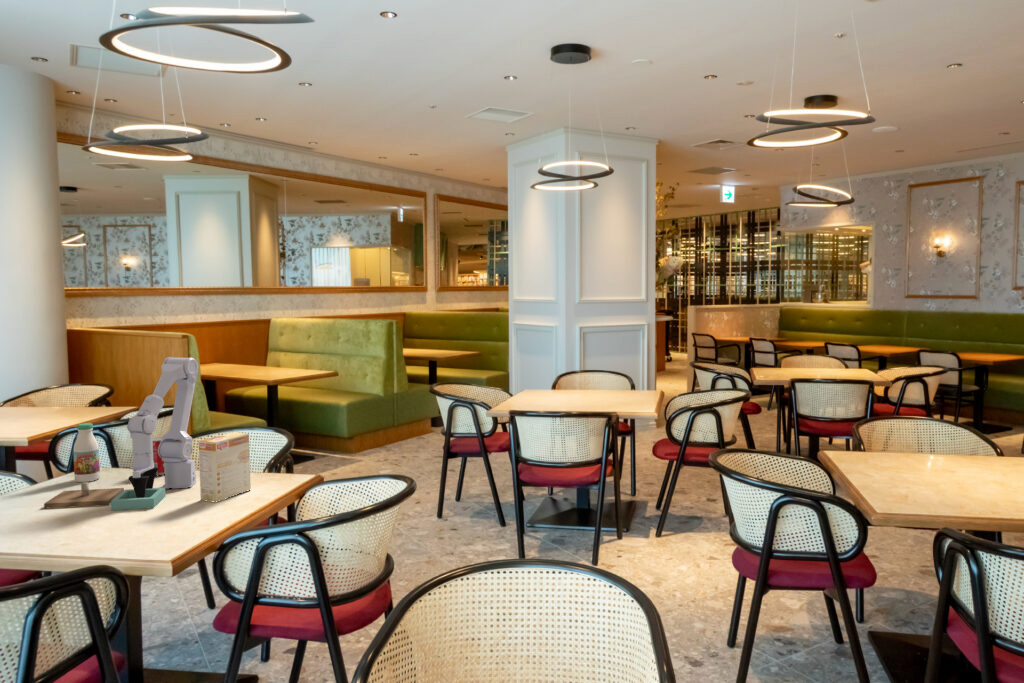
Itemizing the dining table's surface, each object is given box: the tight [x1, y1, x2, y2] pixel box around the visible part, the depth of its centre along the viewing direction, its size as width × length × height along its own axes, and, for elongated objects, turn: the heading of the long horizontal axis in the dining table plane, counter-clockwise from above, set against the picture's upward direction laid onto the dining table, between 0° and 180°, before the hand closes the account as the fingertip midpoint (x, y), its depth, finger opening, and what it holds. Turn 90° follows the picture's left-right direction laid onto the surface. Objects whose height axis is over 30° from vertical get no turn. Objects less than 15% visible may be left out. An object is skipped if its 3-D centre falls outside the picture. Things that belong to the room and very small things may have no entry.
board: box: [43, 482, 125, 509], centre depth 223 cm, size 18×14×6 cm
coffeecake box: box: [198, 431, 252, 503], centre depth 228 cm, size 15×7×20 cm, turn 155°
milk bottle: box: [73, 422, 101, 483], centre depth 247 cm, size 8×8×20 cm
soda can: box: [152, 436, 165, 476], centre depth 255 cm, size 7×7×13 cm
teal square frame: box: [110, 487, 166, 511], centre depth 220 cm, size 12×12×3 cm
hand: (144, 494), depth 225 cm, fingers open, 7 cm apart
